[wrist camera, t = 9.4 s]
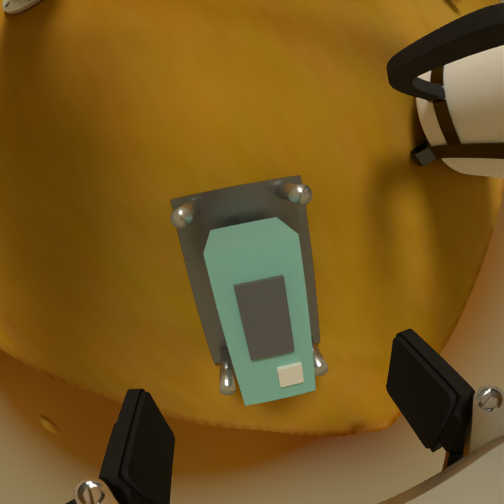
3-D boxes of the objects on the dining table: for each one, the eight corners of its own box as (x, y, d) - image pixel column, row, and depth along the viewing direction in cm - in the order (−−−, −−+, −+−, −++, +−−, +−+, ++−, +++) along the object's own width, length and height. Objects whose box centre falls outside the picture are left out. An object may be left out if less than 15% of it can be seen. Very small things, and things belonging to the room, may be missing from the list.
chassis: (172, 199, 21) (154, 206, 15) (298, 175, 21) (322, 174, 16) (214, 359, 25) (213, 401, 19) (317, 337, 25) (337, 374, 20)
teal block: (210, 230, 19) (202, 255, 13) (276, 217, 19) (300, 235, 13) (240, 353, 21) (245, 408, 15) (295, 341, 21) (317, 393, 15)
